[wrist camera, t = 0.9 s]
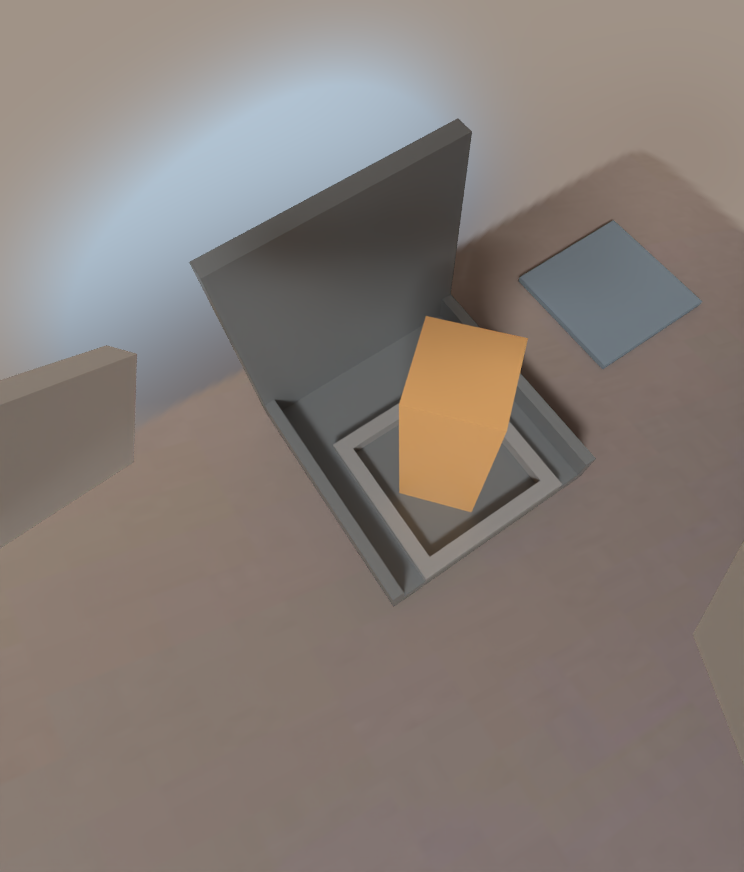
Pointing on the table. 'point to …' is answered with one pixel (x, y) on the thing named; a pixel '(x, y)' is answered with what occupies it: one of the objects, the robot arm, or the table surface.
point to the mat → (609, 293)
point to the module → (456, 410)
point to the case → (375, 355)
